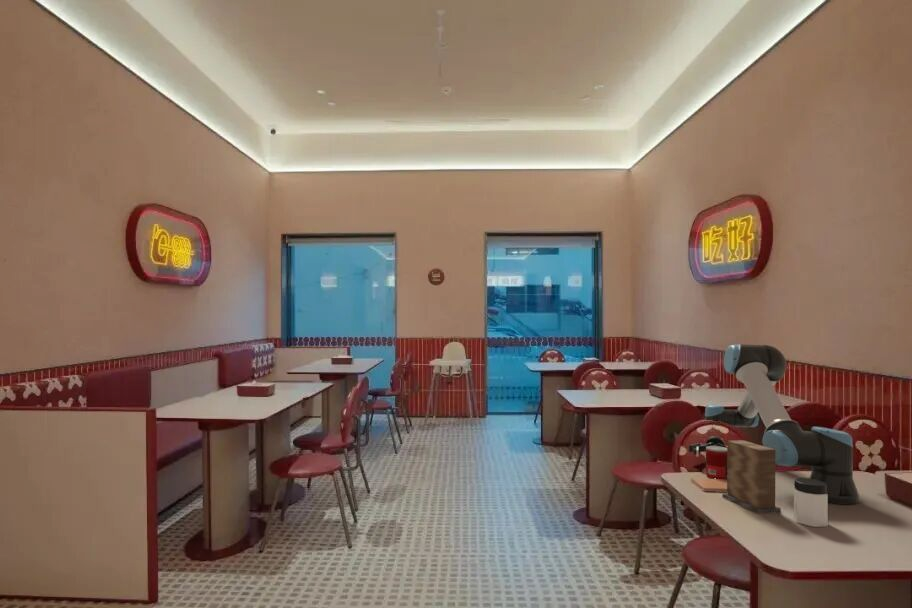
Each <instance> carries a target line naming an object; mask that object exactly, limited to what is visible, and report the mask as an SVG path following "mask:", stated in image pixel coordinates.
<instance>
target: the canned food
mask: <svg viewBox="0 0 912 608" xmlns="http://www.w3.org/2000/svg"><path fill="white" fill-rule="evenodd" d="M705 475H707V476H708V478H709V477H710V478H709V479H713V478H716V479H725V480H727V448H725V447H719V446H707V447H706V452H705ZM707 476H706V477H707Z"/></svg>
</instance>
